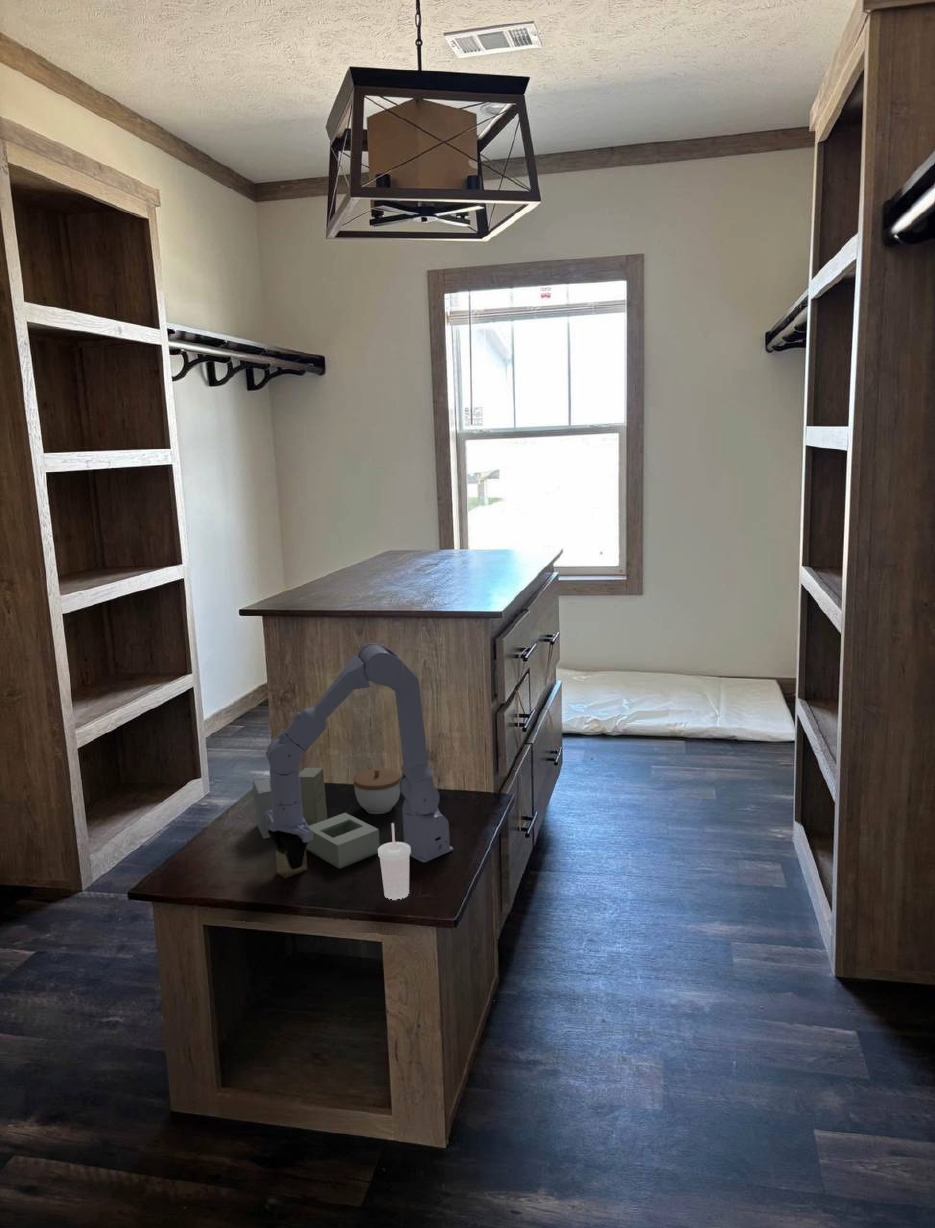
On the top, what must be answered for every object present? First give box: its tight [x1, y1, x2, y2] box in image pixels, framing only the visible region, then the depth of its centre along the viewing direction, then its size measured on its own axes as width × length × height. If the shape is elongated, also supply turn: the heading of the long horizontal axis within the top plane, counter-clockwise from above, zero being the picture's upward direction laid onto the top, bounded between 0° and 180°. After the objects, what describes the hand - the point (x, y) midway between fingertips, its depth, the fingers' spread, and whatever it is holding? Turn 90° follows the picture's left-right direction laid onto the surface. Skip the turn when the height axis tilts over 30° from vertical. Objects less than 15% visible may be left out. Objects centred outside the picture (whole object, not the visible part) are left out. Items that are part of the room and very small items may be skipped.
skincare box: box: [298, 766, 328, 826], centre depth 197 cm, size 6×4×12 cm
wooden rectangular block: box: [275, 846, 308, 879], centre depth 177 cm, size 3×5×5 cm, turn 132°
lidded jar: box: [353, 767, 402, 815], centre depth 205 cm, size 11×11×9 cm
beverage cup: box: [377, 822, 411, 901], centre depth 165 cm, size 6×6×14 cm
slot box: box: [306, 812, 381, 869], centre depth 184 cm, size 12×10×5 cm
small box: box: [252, 777, 272, 840], centre depth 195 cm, size 8×6×10 cm
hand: (291, 864), depth 177 cm, fingers closed on wooden rectangular block, 3 cm apart
